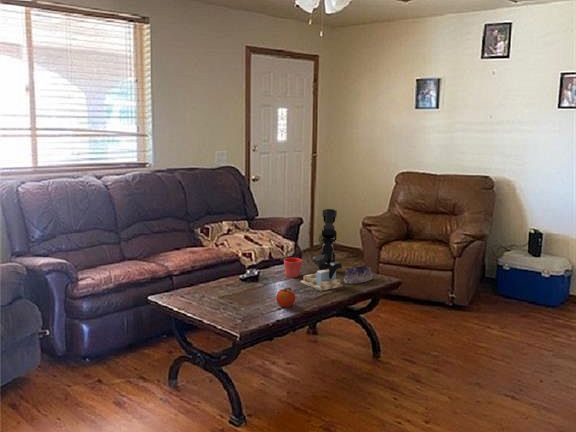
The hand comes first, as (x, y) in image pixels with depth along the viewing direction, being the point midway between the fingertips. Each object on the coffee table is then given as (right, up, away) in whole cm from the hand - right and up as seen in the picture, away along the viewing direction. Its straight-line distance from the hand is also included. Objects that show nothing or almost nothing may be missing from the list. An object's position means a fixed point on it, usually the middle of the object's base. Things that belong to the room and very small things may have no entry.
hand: (326, 277), depth 331 cm
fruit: (-23, -11, -35) cm, 43 cm away
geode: (+19, -4, +13) cm, 23 cm away
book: (0, -4, +1) cm, 4 cm away
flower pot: (-19, -1, +18) cm, 26 cm away
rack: (-2, -4, +4) cm, 6 cm away
